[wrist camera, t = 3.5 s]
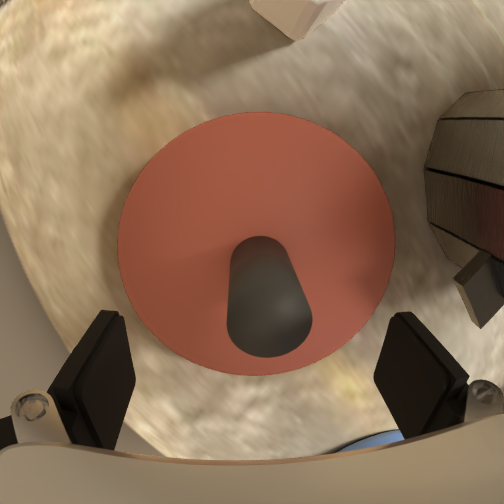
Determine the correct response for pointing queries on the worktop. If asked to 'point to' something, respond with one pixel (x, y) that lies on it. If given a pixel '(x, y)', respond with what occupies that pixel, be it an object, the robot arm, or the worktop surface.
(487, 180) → the pot
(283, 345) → the lid
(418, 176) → the worktop surface
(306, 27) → the pepper shaker
